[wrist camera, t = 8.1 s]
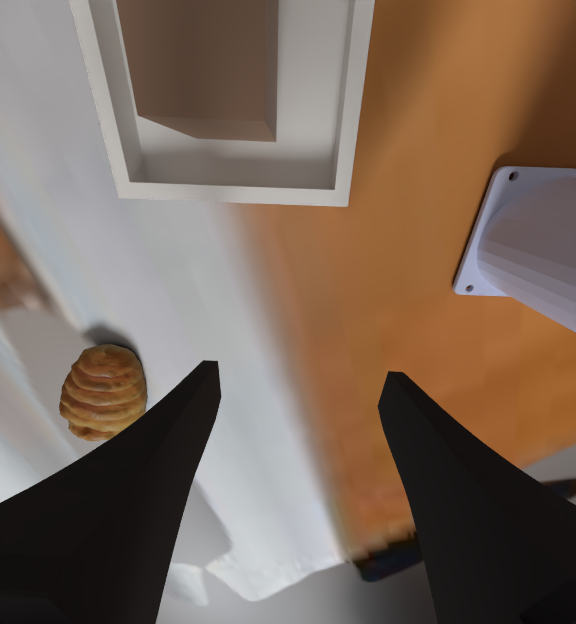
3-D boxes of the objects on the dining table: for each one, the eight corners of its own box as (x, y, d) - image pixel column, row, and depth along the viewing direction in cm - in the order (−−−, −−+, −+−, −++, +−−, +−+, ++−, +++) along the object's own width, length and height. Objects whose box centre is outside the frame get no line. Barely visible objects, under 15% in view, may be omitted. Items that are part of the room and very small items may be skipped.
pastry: (77, 327, 21) (37, 355, 18) (159, 350, 22) (135, 381, 19) (79, 402, 26) (47, 436, 22) (148, 418, 27) (127, 454, 23)
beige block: (279, -17, 11) (264, -185, 6) (276, 142, 14) (264, 121, 9) (179, -22, 12) (80, -192, 6) (196, 138, 14) (137, 115, 9)
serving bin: (380, -135, 10) (404, -220, 8) (340, 202, 16) (347, 206, 14) (71, -144, 10) (10, -231, 8) (142, 195, 16) (119, 197, 14)
